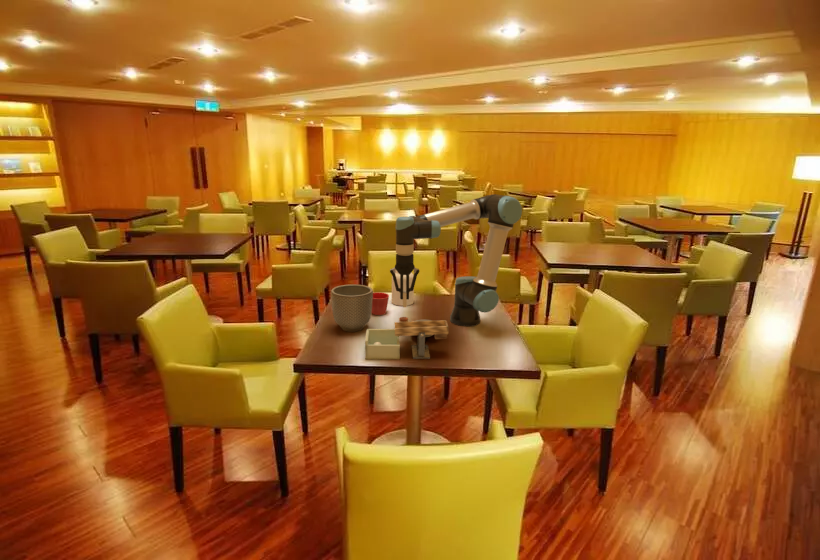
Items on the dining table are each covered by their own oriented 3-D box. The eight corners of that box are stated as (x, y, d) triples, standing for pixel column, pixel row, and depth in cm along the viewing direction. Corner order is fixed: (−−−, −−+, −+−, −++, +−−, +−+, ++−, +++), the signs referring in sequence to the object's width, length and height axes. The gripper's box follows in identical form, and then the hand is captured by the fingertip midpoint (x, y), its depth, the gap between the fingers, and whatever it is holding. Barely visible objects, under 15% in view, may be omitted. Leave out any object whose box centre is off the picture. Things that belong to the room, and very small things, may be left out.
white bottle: (389, 305, 250) (389, 270, 245) (393, 298, 262) (394, 265, 257) (411, 307, 248) (412, 271, 243) (415, 300, 260) (416, 266, 255)
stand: (427, 346, 197) (428, 322, 194) (430, 358, 185) (430, 333, 182) (411, 346, 197) (412, 322, 194) (412, 358, 185) (413, 333, 182)
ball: (381, 349, 192) (382, 341, 191) (381, 353, 188) (382, 344, 187) (372, 348, 192) (373, 339, 191) (371, 352, 188) (373, 343, 187)
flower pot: (392, 311, 240) (393, 294, 238) (380, 317, 231) (380, 299, 229) (376, 308, 246) (376, 291, 243) (364, 313, 237) (364, 296, 234)
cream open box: (399, 346, 197) (399, 329, 195) (399, 359, 184) (399, 341, 182) (366, 346, 196) (366, 329, 194) (365, 359, 184) (365, 340, 182)
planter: (336, 320, 226) (335, 283, 221) (375, 321, 226) (375, 284, 221) (327, 335, 207) (326, 295, 202) (370, 336, 207) (370, 296, 202)
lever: (443, 323, 204) (443, 311, 202) (448, 339, 186) (448, 326, 184) (394, 325, 203) (394, 313, 202) (395, 341, 185) (394, 328, 184)
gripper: (419, 251, 196) (418, 303, 202) (389, 251, 195) (389, 303, 201) (420, 255, 188) (419, 308, 195) (389, 255, 188) (389, 309, 194)
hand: (404, 306), depth 198 cm, fingers closed
